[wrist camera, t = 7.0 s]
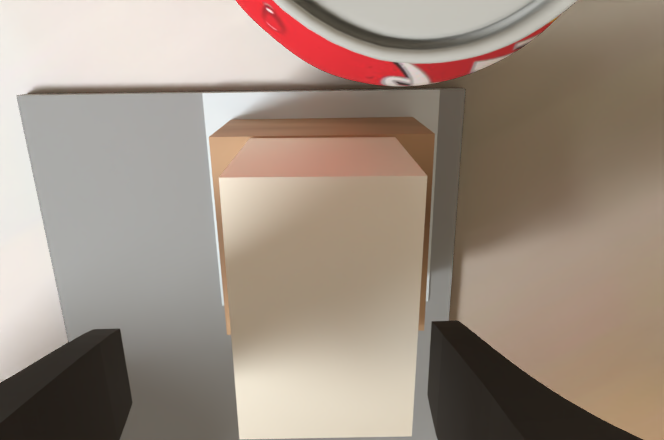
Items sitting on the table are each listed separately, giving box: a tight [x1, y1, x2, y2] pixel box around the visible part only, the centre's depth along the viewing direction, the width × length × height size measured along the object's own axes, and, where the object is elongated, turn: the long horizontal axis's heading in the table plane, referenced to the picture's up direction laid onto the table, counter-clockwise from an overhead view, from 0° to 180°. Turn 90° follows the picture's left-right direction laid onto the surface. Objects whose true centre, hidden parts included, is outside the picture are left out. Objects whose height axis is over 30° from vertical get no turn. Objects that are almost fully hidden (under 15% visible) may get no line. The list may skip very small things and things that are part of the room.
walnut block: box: [209, 117, 435, 335], centre depth 19 cm, size 7×7×4 cm
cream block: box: [219, 137, 427, 439], centre depth 14 cm, size 7×4×5 cm, turn 0°
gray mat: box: [17, 88, 465, 440], centre depth 22 cm, size 18×17×1 cm
